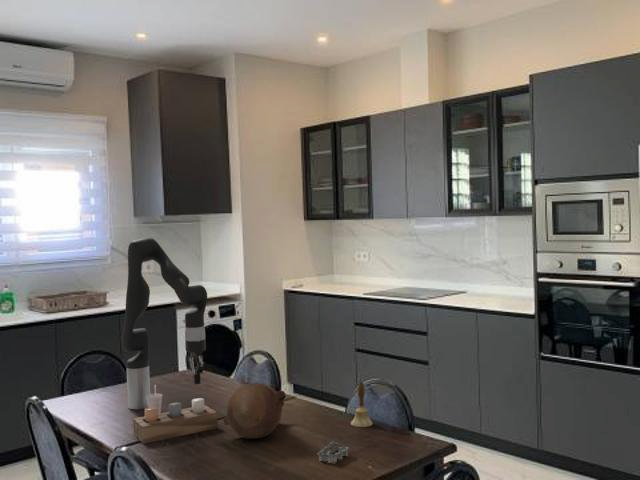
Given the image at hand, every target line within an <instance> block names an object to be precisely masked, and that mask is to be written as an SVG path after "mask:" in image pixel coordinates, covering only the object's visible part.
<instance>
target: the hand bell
mask: <svg viewBox="0 0 640 480" xmlns="http://www.w3.org/2000/svg"><path fill="white" fill-rule="evenodd" d="M365 392H366V391H365V384H364V382H363V381H359V382H358V386H357V394H358V395H357V396H358V399H359V402H358V405H359V406H358V407H357V408H356V409H355V413H354V418H353V420H351V421H350V425H351V426H353V427H355V428H369V427H371V426H373V421H372V420H371V419H370V417H369V416H370V415H369V413H368V409H367V408H365V405H364V403H365V402H364V396H365V394H366V393H365Z"/></svg>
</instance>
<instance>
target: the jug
mask: <svg viewBox="0 0 640 480" xmlns="http://www.w3.org/2000/svg"><path fill="white" fill-rule="evenodd" d="M286 398H287V396H286V393H285V391H284V390H280V391H276V390H275V389H274V388H273V387H271V386H270V385H268V384H265V383H262V382H257V381H256V382H247V383H245V384H242V385H241V386H240V387H238V388H237V389H236V390H235V391H234V392H233V394H232V395H231V396H230V398H229V400H228V404H227V408H226V409H227V410H226V416H225V417H224V418H223V423H224V425H225V426H226V425H230V427H231V428H232V430H233V431H234V432H235V433H236V434H237V435H239V436H241V437H243V438H244V439H248V440H250V439H261V438H265V437H267V436H269V435H270V434H271V433H273V432H274V430H275V429H276V428H277V426H278V424H279V422H280V420H281V417H282V413H283V407H284V404H285V402H284V400H285V399H286Z"/></svg>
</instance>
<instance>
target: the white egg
mask: <svg viewBox="0 0 640 480" xmlns="http://www.w3.org/2000/svg"><path fill="white" fill-rule="evenodd" d="M204 405H205V399H204V398H202V397H198V398H193V399H192V400H191V407H192V413H193V414H196V413H202V412H205V410H204Z"/></svg>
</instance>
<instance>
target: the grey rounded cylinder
mask: <svg viewBox="0 0 640 480" xmlns="http://www.w3.org/2000/svg"><path fill="white" fill-rule="evenodd" d="M182 409H183V408H182V403H181V402H179V401H178V402H170V403H169V404H168V412H169V418H176V417H181V416H182Z"/></svg>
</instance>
